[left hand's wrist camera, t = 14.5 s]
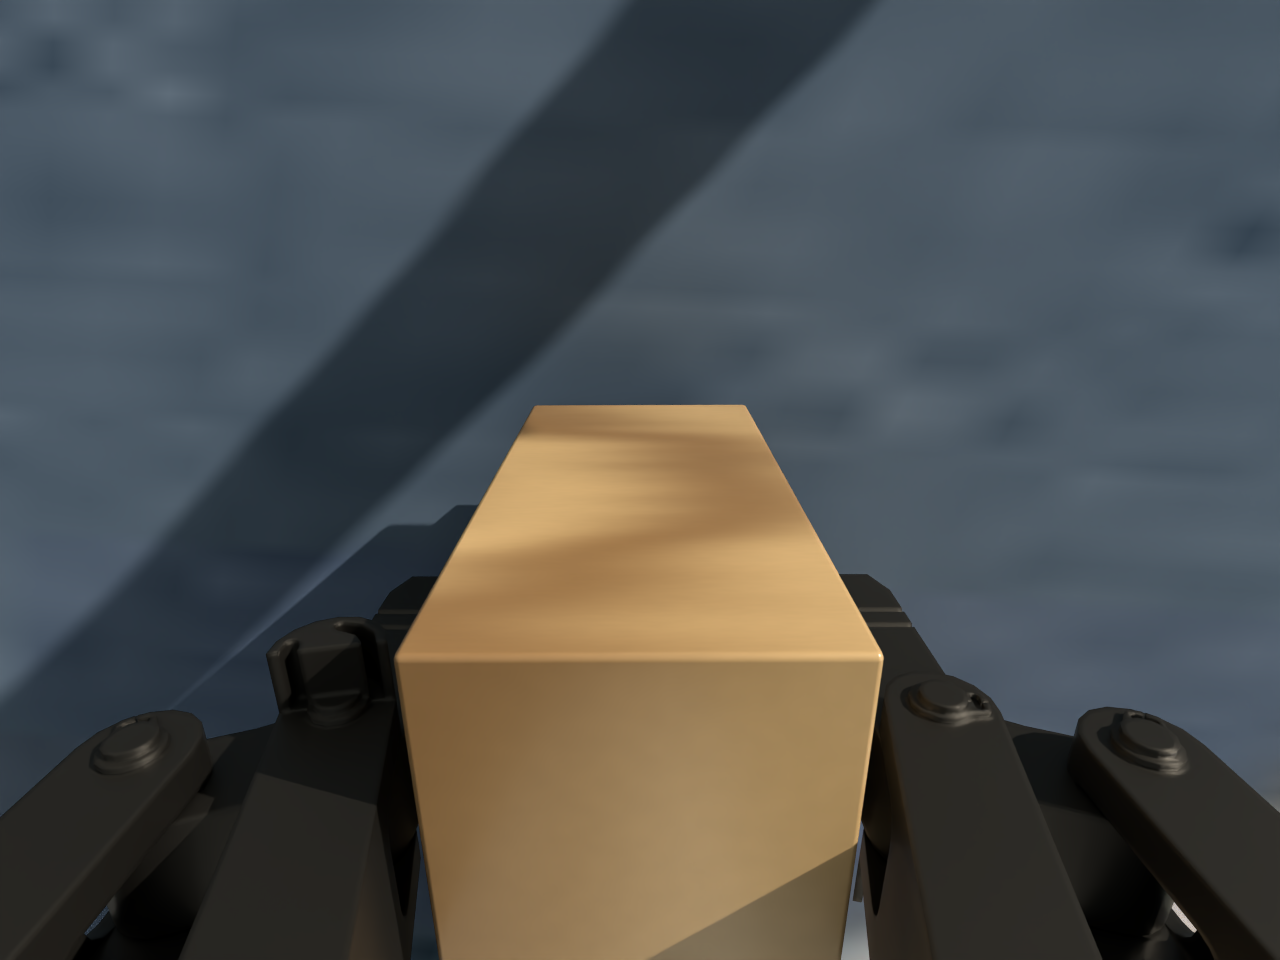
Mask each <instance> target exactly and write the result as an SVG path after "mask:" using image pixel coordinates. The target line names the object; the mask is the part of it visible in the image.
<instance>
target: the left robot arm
mask: <svg viewBox="0 0 1280 960" xmlns="http://www.w3.org/2000/svg"><path fill="white" fill-rule="evenodd" d="M839 576H840V577H841V579H842V581H843V583H844V585H845V586H846V588H847V590H848V592H849V594H850V595H851V597H852V599H853V601H854V603H855V605H856V606H857V608H858V610H859V612H860V614H861V615H862V617H863V619H864V621H865V623H866V624H867V626H868V628H869V630H870V632H871V633H872V635H873V637H874V639H875V641H876V642H877V644H878V646H879V648H880V650H881V651H882V654H883V657H884V660H883V667H882V674H881V681H880V688H879V695H878V702H877V709H876V716H875V723H874V730H873V737H872V744H871V751H870V758H869V765H868V772H867V779H866V786H865V793H864V800H863V807H862V814H861V821H862V823H863V826H864V830H863V837H862V843H861V850H860V856H859V863H858V869H857V876H856V882H855V889H854V896H853V901H857V902H862V898H863V897H864V907H865V917H866V927H867V937H868V947H869V957H870V960H1280V813H1279V812H1278V811H1277V810H1276V809H1275V808H1274V807H1273V806H1271V805H1270V804H1269V803H1268V802H1267V801H1266V800H1265V799H1264V798H1263V797H1261V796H1260V795H1259V794H1258V793H1257V792H1256V791H1255V790H1254V789H1253V788H1251V787H1250V786H1249V785H1248V784H1247V783H1246V782H1245V781H1244V780H1243V779H1242V778H1240V777H1239V776H1238V775H1237V774H1236V773H1235V772H1234V771H1233V770H1232V769H1230V768H1229V767H1228V766H1227V765H1226V764H1225V763H1224V762H1223V761H1222V760H1221V759H1219V758H1218V757H1217V756H1216V755H1215V754H1214V753H1213V752H1212V751H1211V750H1209V749H1208V748H1207V747H1206V746H1205V745H1204V744H1202V743H1201V742H1200V741H1198V740H1197V739H1195V738H1194V737H1193V736H1191V735H1190V734H1189V733H1187V732H1186V731H1184V730H1183V729H1181V728H1179V727H1177V726H1175V725H1173V724H1171V723H1169V722H1166V721H1164V720H1162V719H1161V718H1159V717H1156V716H1153V715H1150V714H1147V713H1142V712H1140V711H1135V710H1132V709H1124V708H1114V707H1103V708H1098V709H1092V710H1088V711H1087V712H1086V713H1085V714H1084V715H1083V716H1081V717H1080V718H1079V719H1078V723H1077V727H1076V730H1075V734H1074V736H1070V735H1065V734H1060V733H1055V732H1051V731H1046V730H1041V729H1037V728H1032V727H1027V726H1023V725H1019V724H1016V723H1012V722H1009V721H1005V720H1004V719H1003V716H1002V714H1001V712H1000V710H999V709H998V708H997V706H996V705H995V703H994V702H993V701H992V699H991V698H990V697H989V696H987V695H986V694H985V693H983V692H982V691H981V690H979V689H978V688H977V687H975V686H974V685H972V684H969V683H967V682H965V681H963V680H960V679H958V678H956V677H954V676H949V675H945V673H944V672H943V670H942V669H941V667H940V666H939V664H938V663H937V661H936V660H935V658H934V656H933V655H932V653H931V652H930V650H929V649H928V647H927V646H926V644H925V643H924V641H923V640H922V638H921V637H920V635H919V634H918V632H917V631H916V629H915V628H914V627H912V623H911V621H910V620H909V618H908V617H907V615H906V614H905V612H902V608H901V606H900V605H899V603H898V602H897V600H896V599H895V597H894V596H893V594H892V593H891V591H890V590H889V589H888V588H886V587H885V586H883V585H882V584H880V583H879V582H878V581H876V580H875V579H873V578H872V577H870V576H869V575H867V574H839ZM437 578H438V577H411V578H410V579H408V580H407V581H405V582H404V583H403V584H401V585H400V586H398V587H397V588H395V589H394V590H393V591H391V592H390V593H389V595H388V596H387V598H386V599H385V601H384V602H383V604H382V605H381V607H380V608H379V610H378V614H376V615H375V616H374V618H373V619H372V620H369V619H365V618H361V617H336V618H331V619H326V620H321V621H316V622H313V623H311V624H308V625H306V626H303V627H300V628H298V629H295V630H293V631H292V632H290V633H289V634H287V635H286V636H284V637H283V638H281V639H279V640H278V641H277V642H276V643H275V644H274V645H273V646H272V648H271V649H270V650H269V651H268V652H267V654H266V657H267V661H268V666H269V670H270V674H271V679H272V683H273V687H274V692H275V696H276V700H277V705H278V709H279V715H278V718H277V720H276V723H274V724H271V725H267V726H264V727H260V728H257V729H252V730H248V731H243V732H238V733H234V734H229V735H224V736H220V737H215V738H210V739H206V736H205V732H204V729H203V725H202V722H201V721H200V720H199V719H198V718H196V717H195V716H194V715H193V714H192V713H187V712H182V711H177V710H167V711H157V712H149V713H146V714H141V715H138V716H133V717H131V718H128V719H125V720H122V721H120V722H118V723H116V724H114V725H112V726H110V727H108V728H106V729H104V730H102V731H100V732H98V733H96V734H95V735H94V736H92V737H91V738H89V739H88V740H87V741H85V742H84V743H83V744H81V745H80V746H78V747H77V748H76V749H75V750H74V751H72V752H71V753H70V754H69V755H68V756H67V757H66V758H65V759H64V760H63V761H62V762H60V763H59V764H58V765H57V766H56V767H55V768H54V769H53V770H52V771H51V772H49V773H48V774H47V775H46V776H45V777H44V778H43V779H42V780H41V781H40V782H38V783H37V784H36V785H35V786H34V787H33V788H32V789H31V790H30V791H29V792H27V793H26V794H25V795H24V796H23V797H22V798H21V799H20V800H19V801H18V802H16V803H15V804H14V805H13V806H12V807H11V808H10V809H9V810H8V811H7V812H6V813H4V814H3V815H2V816H1V817H0V960H410V959H411V949H412V939H413V929H414V919H415V909H416V899H417V889H418V879H419V869H420V859H421V857H420V850H419V843H418V837H417V830H416V829H417V826H418V817H417V810H416V803H415V797H414V790H413V784H412V777H411V771H410V764H409V757H408V751H407V744H406V738H405V731H404V725H403V718H402V711H401V705H400V698H399V692H398V685H397V679H396V672H395V665H394V656H395V653H396V651H397V650H398V648H399V646H400V644H401V643H402V641H403V639H404V637H405V635H406V634H407V632H408V630H409V628H410V626H411V625H412V623H413V621H414V619H415V618H416V616H417V614H418V612H419V610H420V609H421V607H422V605H423V603H424V601H425V600H426V598H427V596H428V594H429V593H430V591H431V589H432V587H433V585H434V584H435V582H436V580H437ZM1174 902H1175V903H1176V905H1177V906H1178V907H1179V908H1180V910H1181V911H1182V912H1183V913H1184V915H1185V916H1186V917H1187V918H1188V919H1189V921H1190V922H1191V923H1192V924H1193V926H1194V927H1195V928H1196V929H1197V931H1196V932H1195V933H1194V932H1192V931H1191V930H1190V929H1189V928H1188V927H1187V926H1186V925H1185V924H1184V923H1183V922H1182V921H1181V919H1180V918H1179V917H1178V916H1177V914H1176V913H1175V912H1174V911H1173V909H1172V905H1173V903H1174ZM106 905H107V907H108V909H109V911H108V913H107V914H106V915H105V917H104V918H103V919H102V920H101V922H100V923H99V924H98V925H97V926H96V927H95V928H94V929H93V930H92V931H91V932H90V933H88V934H87V935H85V934H84V933H85V931H86V930H87V929H88V928H89V926H90V925H91V924H92V923H93V921H94V920H95V919H96V918H97V916H98V915H99V914H100V913H101V912H102V910H103V909H104V908H105V907H106Z"/></svg>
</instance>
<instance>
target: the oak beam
mask: <svg viewBox="0 0 1280 960" xmlns="http://www.w3.org/2000/svg"><path fill="white" fill-rule="evenodd" d="M883 660H884V657H883V654H882V651H881V650H880V648H879V646H878V644H877V642H876V641H875V639H874V637H873V635H872V633H871V632H870V630H869V628H868V626H867V624H866V623H865V621H864V619H863V617H862V615H861V614H860V612H859V610H858V608H857V606H856V605H855V603H854V601H853V599H852V597H851V595H850V594H849V592H848V590H847V588H846V586H845V585H844V583H843V581H842V579H841V577H840V576H839V574H838V572H837V570H836V568H835V567H834V565H833V563H832V561H831V559H830V558H829V556H828V554H827V552H826V550H825V549H824V547H823V545H822V543H821V541H820V540H819V538H818V536H817V534H816V532H815V531H814V529H813V527H812V525H811V523H810V522H809V520H808V518H807V516H806V514H805V513H804V511H803V509H802V507H801V505H800V504H799V502H798V500H797V498H796V496H795V495H794V493H793V491H792V489H791V487H790V485H789V484H788V482H787V480H786V478H785V476H784V475H783V473H782V471H781V469H780V467H779V466H778V464H777V462H776V460H775V458H774V457H773V455H772V453H771V451H770V449H769V448H768V446H767V444H766V442H765V440H764V439H763V437H762V435H761V433H760V431H759V430H758V428H757V426H756V424H755V422H754V421H753V419H752V417H751V415H750V413H749V412H748V410H747V408H746V406H744V405H576V406H534V407H533V409H532V410H531V412H530V414H529V416H528V418H527V419H526V421H525V423H524V425H523V426H522V428H521V430H520V432H519V434H518V435H517V437H516V439H515V441H514V443H513V444H512V446H511V448H510V450H509V451H508V453H507V455H506V457H505V459H504V460H503V462H502V464H501V466H500V468H499V469H498V471H497V473H496V475H495V476H494V478H493V480H492V482H491V484H490V485H489V487H488V489H487V491H486V493H485V494H484V496H483V498H482V500H481V501H480V503H479V505H478V507H477V509H476V510H475V512H474V514H473V516H472V518H471V519H470V521H469V523H468V525H467V526H466V528H465V530H464V532H463V534H462V535H461V537H460V539H459V541H458V543H457V544H456V546H455V548H454V550H453V551H452V553H451V555H450V557H449V559H448V560H447V562H446V564H445V566H444V568H443V569H442V571H441V573H440V575H439V576H438V578H437V580H436V582H435V584H434V585H433V587H432V589H431V591H430V593H429V594H428V596H427V598H426V600H425V601H424V603H423V605H422V607H421V609H420V610H419V612H418V614H417V616H416V618H415V619H414V621H413V623H412V625H411V626H410V628H409V630H408V632H407V634H406V635H405V637H404V639H403V641H402V643H401V644H400V646H399V648H398V650H397V651H396V653H395V656H394V665H395V672H396V679H397V685H398V692H399V698H400V705H401V711H402V718H403V725H404V731H405V738H406V744H407V751H408V757H409V764H410V771H411V777H412V784H413V790H414V797H415V803H416V810H417V817H418V823H419V830H420V836H421V843H422V849H423V856H424V863H425V869H426V876H427V882H428V889H429V895H430V902H431V909H432V915H433V922H434V928H435V935H436V941H437V948H438V955H439V960H841V954H842V947H843V940H844V933H845V926H846V919H847V912H848V905H849V898H850V891H851V884H852V877H853V870H854V863H855V856H856V849H857V842H858V835H859V828H860V821H861V814H862V807H863V800H864V793H865V786H866V779H867V772H868V765H869V758H870V751H871V744H872V737H873V730H874V723H875V716H876V709H877V702H878V695H879V688H880V681H881V674H882V667H883Z"/></svg>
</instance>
